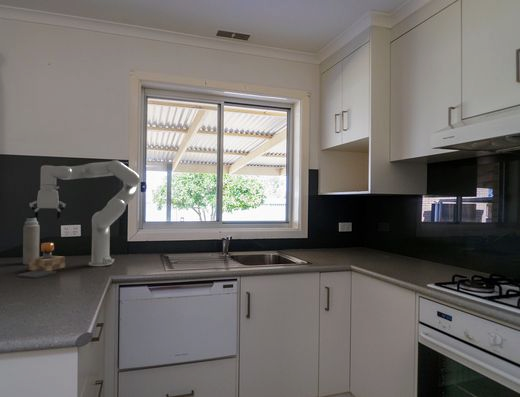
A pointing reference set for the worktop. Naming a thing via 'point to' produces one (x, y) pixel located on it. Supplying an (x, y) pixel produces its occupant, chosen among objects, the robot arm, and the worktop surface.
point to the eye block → (47, 263)
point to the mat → (36, 274)
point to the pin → (47, 250)
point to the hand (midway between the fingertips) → (47, 218)
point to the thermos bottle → (30, 239)
